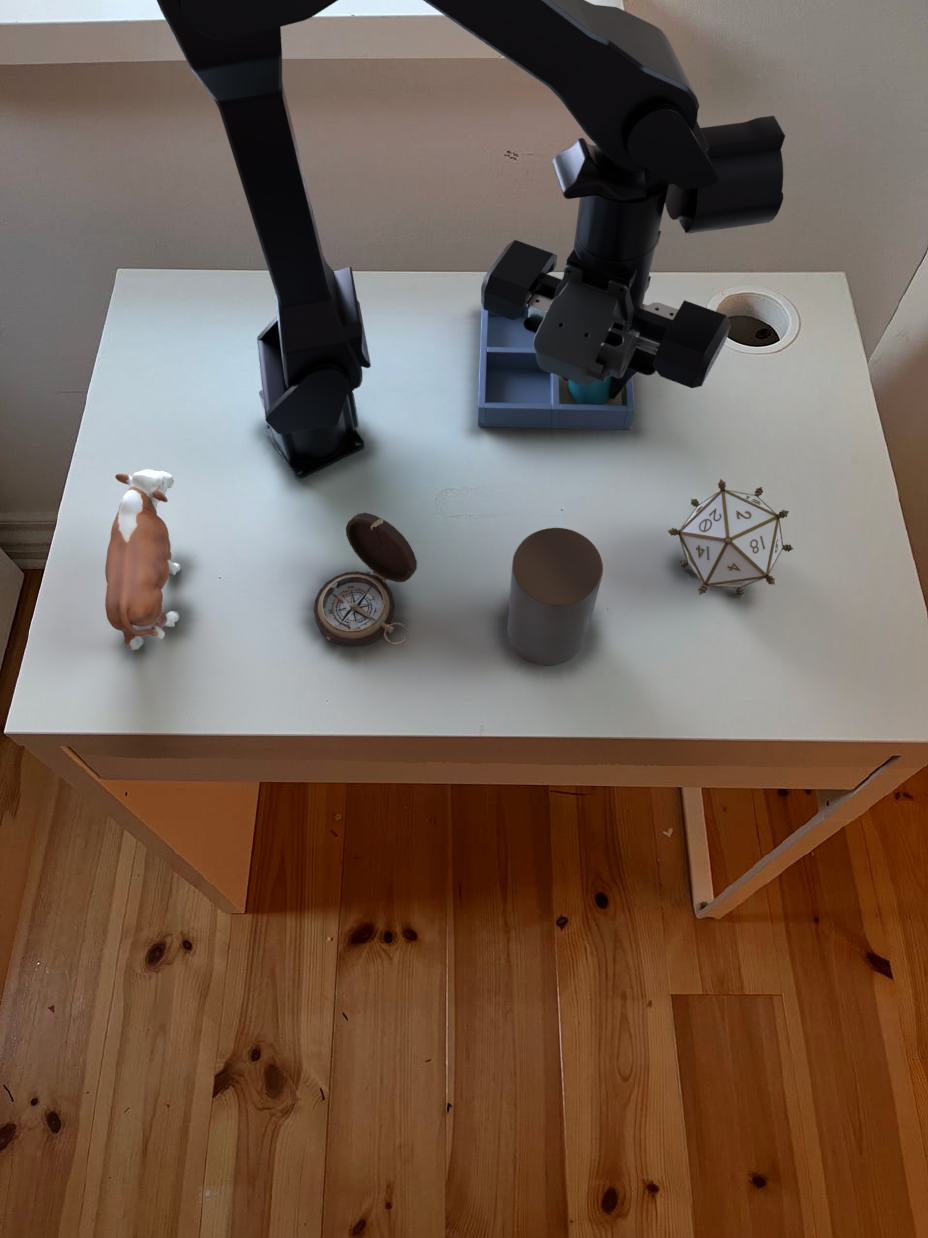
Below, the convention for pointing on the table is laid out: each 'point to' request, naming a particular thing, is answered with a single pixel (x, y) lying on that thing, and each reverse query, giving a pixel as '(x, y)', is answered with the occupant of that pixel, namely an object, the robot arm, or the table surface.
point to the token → (591, 392)
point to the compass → (366, 584)
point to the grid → (534, 385)
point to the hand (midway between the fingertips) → (590, 386)
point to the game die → (732, 539)
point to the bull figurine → (139, 559)
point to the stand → (553, 595)
